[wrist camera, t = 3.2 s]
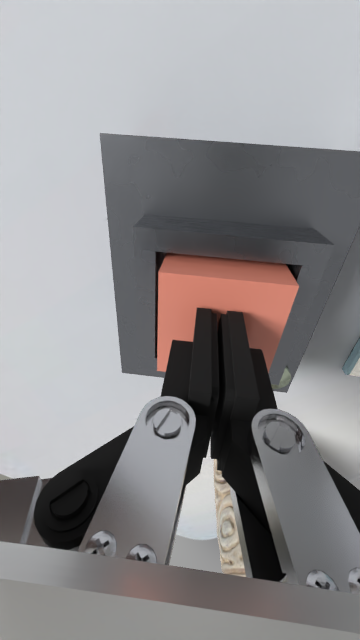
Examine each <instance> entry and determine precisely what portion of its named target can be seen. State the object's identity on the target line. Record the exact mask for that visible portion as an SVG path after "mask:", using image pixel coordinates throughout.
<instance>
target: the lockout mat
mask: <svg viewBox="0 0 360 640" xmlns="http://www.w3.org/2000/svg"><path fill="white" fill-rule="evenodd" d="M342 370H343V371H344V373H345V374H346V375H350V376H358V377H360V338H359V340H358V342H357V344H356V345H355V347H354V349H353V351H352V352H351V354H350V356H349V357H348V359H347V361H346V363H345V364H344V366H343V368H342Z"/></svg>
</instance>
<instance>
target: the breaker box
mask: <svg viewBox="0 0 360 640" xmlns="http://www.w3.org/2000/svg"><path fill="white" fill-rule="evenodd" d="M100 141H101V152H102V163H103V173H104V184H105V195H106V205H107V216H108V227H109V237H110V248H111V259H112V269H113V280H114V291H115V301H116V312H117V323H118V334H119V344H120V355H121V366H122V373H129V374H138V375H146V376H154V377H163V378H165V373H166V372H163V371H157V344H158V272H159V270H160V267H161V265H162V263H163V260H164V258H165V256H166V253H177V254H187V255H198V256H208V257H219V258H229V259H240V260H250V261H261V262H271V263H282V264H286V265H287V267H288V269H289V270H290V272H291V274H292V275H293V277H294V278H295V280H296V282H297V283H298V285H299V288H298V291H297V294H296V296H295V299H294V302H293V305H292V308H291V311H290V313H289V316H288V319H287V322H286V325H285V328H284V330H283V333H282V336H281V339H280V342H279V344H278V347H277V350H276V353H275V356H274V359H273V361H272V364H271V367H270V370H269V373H268V374H269V378H270V382H271V386H272V390H273V391H278V392H286V393H287V391H288V389H289V386H290V384H291V382H292V380H293V377H294V375H295V373H296V370H297V368H298V366H299V364H300V361H301V359H302V357H303V354H304V352H305V350H306V348H307V345H308V343H309V341H310V338H311V336H312V334H313V331H314V329H315V327H316V325H317V322H318V320H319V318H320V315H321V313H322V311H323V309H324V306H325V304H326V302H327V299H328V297H329V295H330V293H331V290H332V288H333V286H334V283H335V281H336V279H337V277H338V274H339V272H340V270H341V267H342V265H343V263H344V260H345V258H346V256H347V254H348V251H349V249H350V247H351V244H352V242H353V240H354V238H355V235H356V233H357V231H358V228H359V226H360V152H358V151H344V150H330V149H316V148H302V147H288V146H273V145H259V144H245V143H231V142H217V141H203V140H189V139H175V138H161V137H147V136H133V135H119V134H104V133H100Z"/></svg>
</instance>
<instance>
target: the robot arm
mask: <svg viewBox="0 0 360 640" xmlns="http://www.w3.org/2000/svg"><path fill="white" fill-rule="evenodd" d="M210 437H211V459H217V470H219V471H222V477H223V478H224V479H225V481H226V482H227V483H228V484H229V485H230V494H231V499H232V504H233V510H234V515H235V520H236V526H237V531H238V536H239V541H240V547H241V552H242V557H243V562H244V568H245V573H246V577H242V576H236V575H229V574H222V573H215V572H209V571H203V570H196V569H189V568H183V567H177V566H170V565H169V563H170V559H171V554H172V549H173V545H174V540H175V535H176V531H177V526H178V522H179V517H180V513H181V508H182V503H183V499H184V494H185V489H186V485H187V484H188V483H189V482H190V481H191V480H193V479H194V478H195V477H196V476H197V475H198V474H200V470H201V465H202V460H203V457H204V458H206V455H207V451H208V446H209V441H210ZM0 640H360V490H358V489H357V488H356V487H355V486H353V485H352V484H351V483H350V482H349V481H347V480H346V479H345V478H344V477H342V476H341V475H340V474H339V473H338V472H336V471H335V470H334V469H333V468H331V467H330V466H329V465H328V464H327V463H325V462H324V461H323V460H322V458H321V456H320V454H319V452H318V450H317V448H316V446H315V444H314V442H313V440H312V438H311V436H310V434H309V432H308V431H307V429H306V428H305V426H304V425H303V424H302V423H301V422H300V421H299V420H298V419H297V418H296V417H294V416H292V415H291V414H289V413H287V412H285V411H282V410H278V409H277V405H276V401H275V397H274V393H273V390H272V386H271V382H270V378H269V374H268V370H267V366H266V362H265V358H264V354H263V352H262V350H261V349H253V348H250V347H249V342H248V337H247V332H246V327H245V322H244V316H243V312H236V311H227V313H226V314H221V316H220V321H219V327H218V333H217V313H211V309H207V308H197V310H196V319H195V328H194V337H193V342H190V341H181V340H172V344H171V349H170V354H169V359H168V363H167V368H166V373H165V378H164V383H163V388H162V393H161V397H158V398H156V399H153V400H151V401H150V402H149V403H147V404H146V405H145V406H144V408H143V409H142V411H141V413H140V415H139V417H138V419H137V421H136V424H135V426H134V427H132V428H131V429H129V430H127V431H126V432H124V433H122V434H121V435H119V436H118V437H116V438H114V439H113V440H111V441H110V442H108V443H106V444H105V445H103V446H101V447H100V448H98V449H97V450H95V451H93V452H92V453H90V454H88V455H87V456H85V457H84V458H82V459H80V460H79V461H77V462H76V463H74V464H72V465H71V466H69V467H67V468H66V469H64V470H63V471H61V472H59V473H58V474H57V475H56V476H54V477H53V478H48V479H40V477H39V476H34V477H25V478H16V479H7V480H0Z"/></svg>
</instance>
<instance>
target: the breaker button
mask: <svg viewBox="0 0 360 640" xmlns="http://www.w3.org/2000/svg"><path fill="white" fill-rule="evenodd" d="M298 288H299V285H298V283H297V282H296V280H295V278H294V277H293V275H292V274H291V272H290V270H289V269H288V267H287V265H286V264H282V263H271V262H261V261H250V260H240V259H229V258H219V257H208V256H198V255H187V254H177V253H166V256H165V258H164V260H163V263H162V265H161V267H160V270H159V272H158V344H157V371H163V372H166V368H167V363H168V359H169V354H170V349H171V344H172V340H181V341H190V342H193V337H194V328H195V319H196V310H197V308H207V309H211V313H217V333H218V327H219V321H220V316H221V314H226V313H227V311H236V312H243V316H244V322H245V327H246V332H247V337H248V342H249V347H250V348H253V349H261V350H262V352H263V354H264V358H265V362H266V366H267V370H268V373H269V370H270V367H271V364H272V361H273V359H274V356H275V353H276V350H277V347H278V344H279V342H280V339H281V336H282V333H283V330H284V328H285V325H286V322H287V319H288V316H289V313H290V311H291V308H292V305H293V302H294V299H295V296H296V294H297V291H298Z"/></svg>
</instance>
